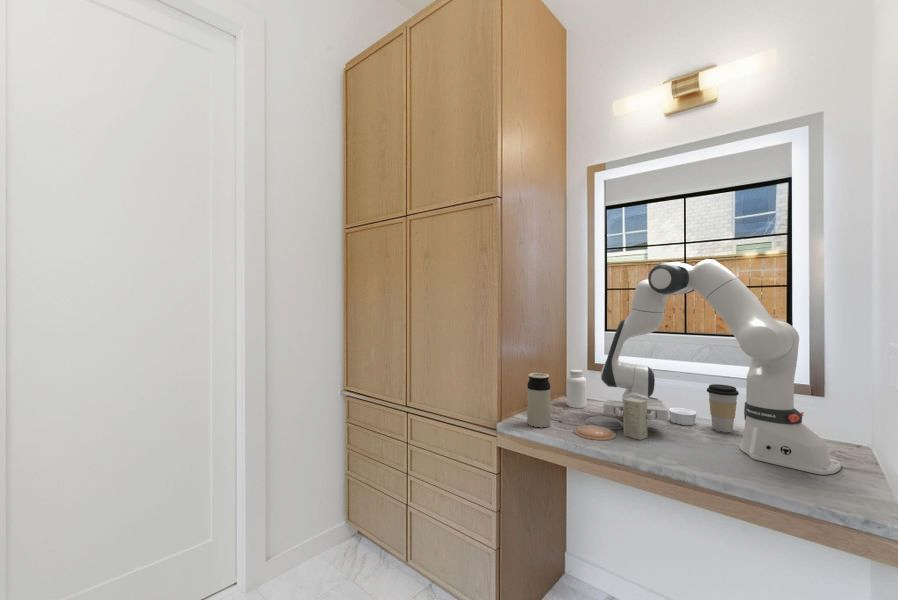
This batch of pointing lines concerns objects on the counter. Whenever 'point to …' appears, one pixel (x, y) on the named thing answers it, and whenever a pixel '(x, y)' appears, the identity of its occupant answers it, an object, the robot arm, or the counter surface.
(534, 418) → the travel mug
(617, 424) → the slate dish
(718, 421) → the coffee cup
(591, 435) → the terracotta dish
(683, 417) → the ramekin
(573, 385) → the pill bottle
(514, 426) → the counter surface
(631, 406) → the skincare box
